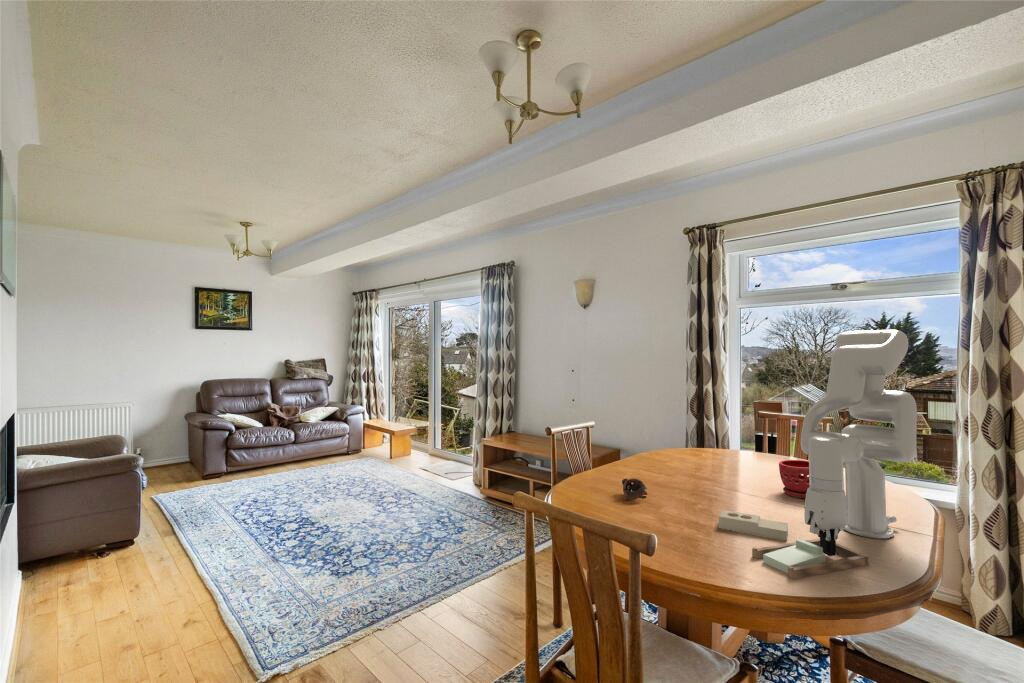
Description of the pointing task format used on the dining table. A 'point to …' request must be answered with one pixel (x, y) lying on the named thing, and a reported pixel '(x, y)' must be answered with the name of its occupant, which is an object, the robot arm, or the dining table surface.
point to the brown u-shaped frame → (818, 568)
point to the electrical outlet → (753, 525)
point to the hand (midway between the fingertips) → (828, 553)
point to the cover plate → (795, 556)
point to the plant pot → (795, 477)
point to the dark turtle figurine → (633, 488)
